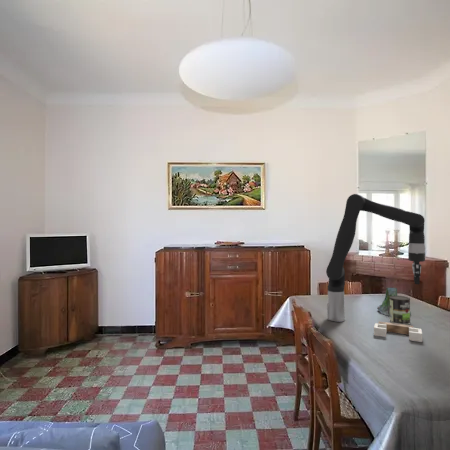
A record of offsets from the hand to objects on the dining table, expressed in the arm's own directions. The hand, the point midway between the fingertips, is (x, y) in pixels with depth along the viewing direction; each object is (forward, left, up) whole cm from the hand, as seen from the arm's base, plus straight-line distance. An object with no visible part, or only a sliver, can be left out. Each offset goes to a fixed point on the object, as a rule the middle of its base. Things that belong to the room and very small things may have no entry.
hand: (416, 282), depth 166 cm
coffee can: (-8, +12, -25) cm, 29 cm away
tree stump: (-12, +31, -26) cm, 42 cm away
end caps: (-9, -13, -25) cm, 30 cm away
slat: (-10, -6, -26) cm, 28 cm away
